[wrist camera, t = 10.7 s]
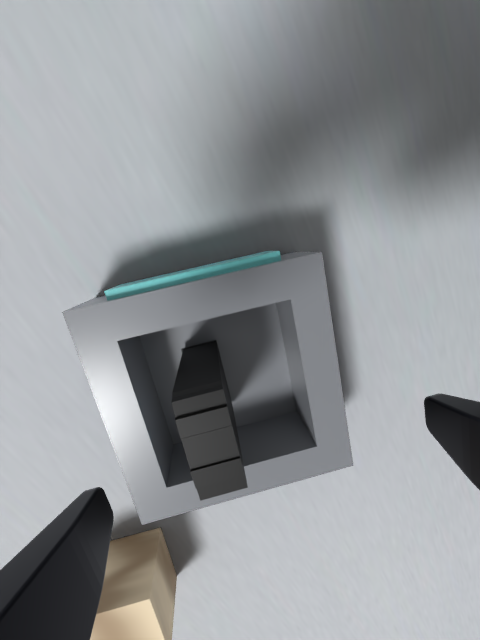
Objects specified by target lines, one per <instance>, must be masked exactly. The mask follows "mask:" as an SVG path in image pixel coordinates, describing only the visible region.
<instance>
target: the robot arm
mask: <svg viewBox="0 0 480 640" xmlns="http://www.w3.org/2000/svg"><path fill="white" fill-rule="evenodd" d="M424 407H425V418H426V425H427V428H428V430H429V431H430V433H431V434H432V435H433V436H434V438H435V439H436V440H437V441H438V442H439V444H440V445H441V446H442V447H443V448H444V450H445V451H446V452H447V453H448V454H449V456H450V457H451V458H452V459H453V460H454V462H455V463H456V464H457V465H458V466H459V468H460V469H461V470H462V471H463V472H464V474H465V475H466V476H467V477H468V478H469V479H470V480H471V482H472V483H473V484H474V485H475V486H476V487H477V488H478V489H479V490H480V402H477V401H473V400H468V399H463V398H459V397H454V396H450V395H445V394H435V395H432V396H428V397H426V398H425V400H424ZM112 526H113V511H112V509H111V506H110V504H109V501H108V499H107V497H106V494H105V492H104V490H103V489H102V488H100V487H97V488H93V489H90V490H86V491H84V492H83V493H82V494H81V495H80V496H79V497H78V498H76V499H75V500H74V501H73V502H72V503H71V504H70V505H69V506H68V507H67V508H66V509H65V510H64V511H63V512H62V513H61V514H59V515H58V516H57V517H56V518H55V519H54V520H53V521H52V522H51V523H50V524H49V525H48V526H47V527H46V528H45V529H44V530H43V531H41V532H40V533H39V534H38V535H37V536H36V537H35V538H34V539H33V540H32V541H31V542H30V543H29V544H28V545H27V546H26V547H24V548H23V549H22V550H21V551H20V552H19V553H18V554H17V555H16V556H15V557H14V558H13V559H12V560H11V561H10V562H9V563H7V564H6V565H5V566H4V567H3V568H2V569H1V570H0V640H90V637H91V633H92V629H93V625H94V621H95V617H96V613H97V609H98V605H99V601H100V597H101V593H102V588H103V583H104V577H105V571H106V564H107V558H108V552H109V545H110V539H111V533H112Z"/></svg>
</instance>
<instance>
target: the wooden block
mask: <svg viewBox="0 0 480 640" xmlns="http://www.w3.org/2000/svg"><path fill="white" fill-rule="evenodd" d="M176 580H177V575H176V572H175V569H174V566H173V563H172V560H171V557H170V554H169V551H168V548H167V545H166V542H165V539H164V536H163V533H162V530H161V527H160V528H157V529H153V530H149V531H145V532H142V533H138V534H134V535H131V536H127V537H123V538H119V539H116V540H112V541H110V545H109V552H108V558H107V564H106V571H105V577H104V583H103V588H102V593H101V597H100V601H99V605H98V609H97V613H96V617H95V621H94V625H93V629H92V633H91V637H90V640H172V629H173V617H174V605H175V592H176Z"/></svg>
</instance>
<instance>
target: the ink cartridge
mask: <svg viewBox="0 0 480 640" xmlns="http://www.w3.org/2000/svg"><path fill="white" fill-rule="evenodd" d="M181 351H182V356H181V360H180V364H179V368H178V372H177V376H176V380H175V384H174V388H173V392H172V401H171V403H172V407H173V411H174V415H175V422H176V425H177V429H178V432H179V435H180V439H181V441H182V444H183V447H184V451H185V454H186V457H187V461H188V464H189V467H190V473H191V476H192V479H193V482H194V485H195V488H196V489H197V492H198V495H199V498H200V501H201V500H205V499H209V498H212V497H216V496H219V495H223V494H227V493H230V492H234V491H237V490H241V489H245V488H248V486H247V480H246V475H245V470H244V464H243V459H242V454H241V448H240V443H239V437H238V432H237V427H236V421H235V416H234V411H233V406H232V401H231V397H230V393H229V389H228V385H227V381H226V377H225V373H224V369H223V365H222V361H221V357H220V353H219V349H218V345H217V341H216V340H214V341H210V342H206V343H202V344H198V345H194V346H190V347H186V348H182V349H181Z"/></svg>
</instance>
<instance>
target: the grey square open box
mask: <svg viewBox="0 0 480 640" xmlns="http://www.w3.org/2000/svg"><path fill="white" fill-rule="evenodd" d="M104 292H105V295H106V296H101V297H97V298H94V299H91V300H89V301H87V302H84V303H82V304H80V305H78V306H75V307H73V308H71V309H68V310H66V311H64V312H62V313H63V316H64V318H65V321H66V324H67V326H68V329H69V332H70V334H71V337H72V340H73V342H74V345H75V348H76V350H77V353H78V356H79V358H80V361H81V364H82V366H83V369H84V372H85V374H86V377H87V380H88V382H89V385H90V388H91V390H92V393H93V396H94V398H95V401H96V404H97V406H98V409H99V412H100V414H101V417H102V420H103V422H104V425H105V428H106V430H107V433H108V436H109V438H110V441H111V444H112V446H113V449H114V452H115V454H116V457H117V460H118V462H119V465H120V468H121V470H122V473H123V476H124V478H125V481H126V484H127V486H128V489H129V492H130V494H131V497H132V500H133V502H134V505H135V508H136V510H137V513H138V516H139V518H140V521H141V524H142V525H144V524H147V523H151V522H154V521H158V520H161V519H165V518H169V517H172V516H176V515H179V514H183V513H186V512H190V511H193V510H197V509H201V508H204V507H208V506H211V505H215V504H218V503H222V502H225V501H229V500H233V499H236V498H240V497H243V496H247V495H250V494H254V493H257V492H261V491H265V490H268V489H272V488H275V487H279V486H282V485H286V484H289V483H293V482H296V481H300V480H304V479H307V478H311V477H314V476H318V475H321V474H325V473H328V472H332V471H336V470H339V469H343V468H346V467H350V466H353V460H352V453H351V446H350V439H349V433H348V426H347V419H346V412H345V405H344V399H343V392H342V385H341V378H340V371H339V365H338V358H337V351H336V344H335V337H334V331H333V324H332V317H331V310H330V303H329V297H328V290H327V283H326V276H325V269H324V263H323V256H322V252H292V253H288V254H284V255H280V251H264V252H260V253H256V254H251V255H247V256H243V257H238V258H234V259H230V260H225V261H221V262H216V263H212V264H208V265H203V266H199V267H195V268H190V269H186V270H181V271H177V272H173V273H168V274H164V275H160V276H155V277H151V278H146V279H142V280H138V281H133V282H129V283H125V284H120V285H118V286H115V287H113V288H110V289H108V290H105V291H104ZM214 340H216V341H217V345H218V349H219V353H220V357H221V361H222V365H223V369H224V373H225V377H226V381H227V385H228V389H229V393H230V397H231V401H232V406H233V411H234V416H235V421H236V427H237V432H238V437H239V443H240V448H241V454H242V459H243V464H244V470H245V475H246V480H247V486H248V488H245V489H241V490H237V491H234V492H230V493H227V494H223V495H219V496H216V497H212V498H209V499H205V500H201V501H200V498H199V495H198V492H197V489H196V488H195V485H194V482H193V479H192V476H191V473H190V467H189V464H188V461H187V457H186V454H185V451H184V447H183V444H182V441H181V439H180V435H179V432H178V429H177V425H176V422H175V415H174V411H173V407H172V403H171V401H172V392H173V388H174V384H175V380H176V376H177V372H178V368H179V364H180V360H181V356H182V351H181V349H182V348H186V347H190V346H194V345H198V344H202V343H206V342H210V341H214Z"/></svg>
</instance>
